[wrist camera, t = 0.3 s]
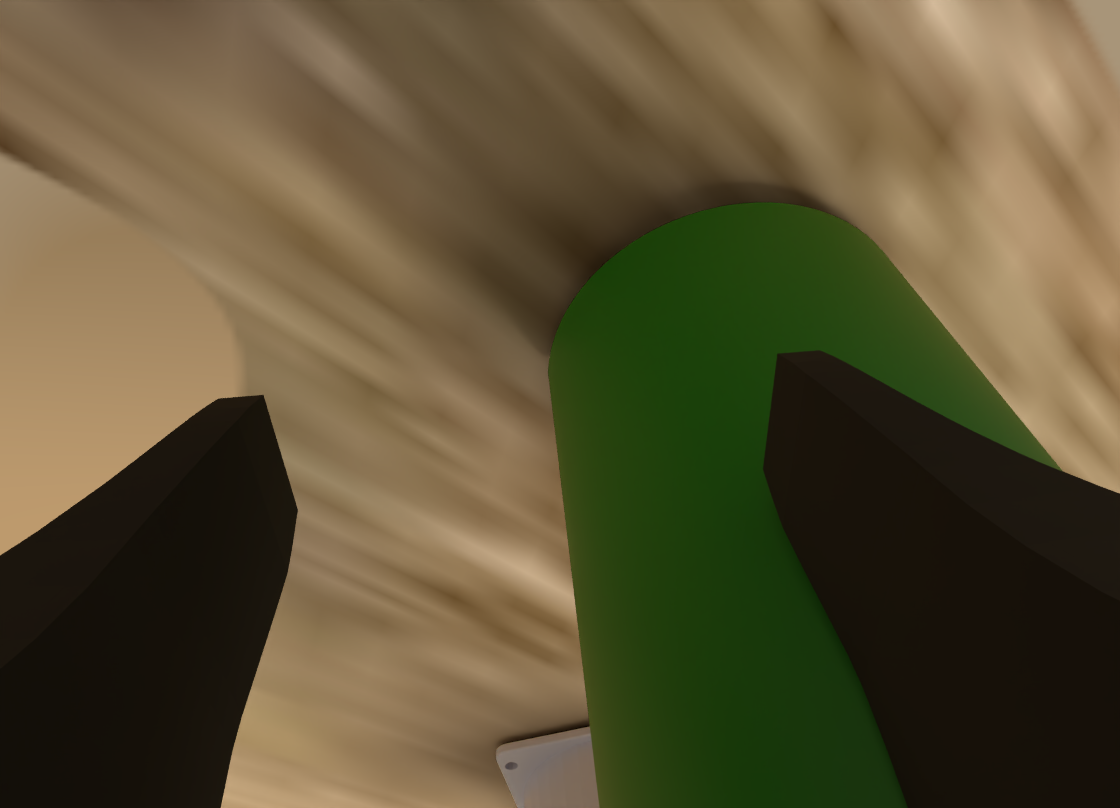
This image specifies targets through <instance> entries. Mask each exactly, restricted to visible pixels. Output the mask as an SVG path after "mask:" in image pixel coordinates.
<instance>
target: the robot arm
mask: <svg viewBox="0 0 1120 808" xmlns="http://www.w3.org/2000/svg"><path fill="white" fill-rule="evenodd" d="M763 471H764V474H765V477H766V480H767V484H768V487H769V490H770V493H771V496H772V499H773V502H774V505H775V508H776V510H777V513H778V516H779V519H780V522H781V524H782V527H783V529H784V531H785V533H786V535H787V537H788V539H789V541H790V543H791V545H792V547H793V549H794V551H795V553H796V555H797V557H798V559H799V561H800V563H801V565H802V567H803V569H804V571H805V573H806V575H807V577H808V579H809V581H810V583H811V585H812V587H813V589H814V591H815V592H816V594H817V596H818V598H819V600H820V602H821V604H822V606H823V608H824V610H825V612H826V614H827V616H828V618H829V620H830V622H831V623H832V625H833V627H834V629H835V631H836V633H837V635H838V637H839V639H840V641H841V643H842V645H843V647H844V649H845V651H846V653H847V654H848V656H849V659H850V661H851V663H852V665H853V667H854V669H855V672H856V674H857V676H858V678H859V680H860V682H861V685H862V687H863V689H864V692H865V695H866V697H867V700H868V702H869V705H870V707H871V710H872V713H873V715H874V718H875V720H876V723H877V726H878V728H879V731H880V733H881V736H882V739H883V741H884V744H885V746H886V749H887V751H888V754H889V757H890V760H891V762H892V765H893V768H894V771H895V774H896V776H897V779H898V782H899V785H900V787H901V790H902V793H903V796H904V799H905V801H906V804H907V807H908V808H1120V494H1119V493H1116V492H1114V491H1111V490H1108V489H1105V488H1103V487H1100V486H1098V485H1095V484H1093V483H1090V482H1088V481H1085V480H1083V479H1080V478H1078V477H1075V476H1073V475H1070V474H1068V473H1065V472H1063V471H1060V470H1058V469H1055V468H1053V467H1050V466H1048V465H1045V464H1043V463H1041V462H1038V461H1036V460H1034V459H1032V458H1029V457H1027V456H1025V455H1022V454H1020V453H1018V452H1016V451H1014V450H1012V449H1010V448H1008V447H1005V446H1003V445H1001V444H999V443H997V442H995V441H993V440H991V439H989V438H987V437H985V436H982V435H980V434H978V433H976V432H974V431H972V430H970V429H968V428H966V427H964V426H962V425H960V424H958V423H956V422H955V421H953V420H951V419H949V418H947V417H945V416H943V415H941V414H939V413H937V412H935V411H934V410H932V409H930V408H928V407H926V406H924V405H922V404H921V403H919V402H917V401H915V400H913V399H911V398H910V397H908V396H906V395H904V394H902V393H901V392H899V391H897V390H895V389H893V388H892V387H890V386H888V385H886V384H884V383H883V382H881V381H879V380H877V379H875V378H874V377H872V376H870V375H868V374H866V373H865V372H863V371H861V370H859V369H857V368H855V367H854V366H852V365H850V364H848V363H846V362H844V361H842V360H840V359H838V358H836V357H834V356H832V355H830V354H828V353H825V352H823V351H821V350H815V351H803V352H790V353H778V354H777V360H776V368H775V376H774V384H773V392H772V400H771V408H770V416H769V424H768V432H767V440H766V448H765V456H764V464H763ZM297 512H298V509H297V506H296V502H295V499H294V496H293V492H292V489H291V486H290V482H289V479H288V476H287V472H286V469H285V466H284V462H283V459H282V456H281V452H280V449H279V446H278V442H277V439H276V435H275V432H274V429H273V425H272V422H271V419H270V415H269V412H268V409H267V405H266V402H265V399H264V395H257V396H245V397H233V398H221V399H217V400H215V401H214V402H212V403H211V404H209V405H208V406H206V407H205V408H203V409H202V410H200V411H199V412H198V413H196V414H195V415H194V416H192V417H191V418H189V419H188V420H187V421H185V422H184V423H183V424H182V425H180V426H179V427H178V428H176V429H175V430H174V431H172V432H171V433H170V434H168V435H167V436H166V437H165V438H163V439H162V440H161V441H159V442H158V443H157V444H156V445H154V446H153V447H152V448H150V449H149V450H148V451H147V452H145V453H144V454H143V455H141V456H140V457H139V458H138V459H136V460H135V461H134V462H132V463H131V464H130V465H128V466H127V467H126V468H125V469H123V470H122V471H121V472H119V473H118V474H117V475H115V476H114V477H113V478H112V479H110V480H109V481H108V482H106V483H105V484H103V485H102V486H101V487H99V488H98V489H96V490H95V491H94V492H92V493H91V494H89V495H88V496H87V497H85V498H84V499H82V500H81V501H80V502H78V503H77V504H75V505H74V506H72V507H71V508H70V509H68V510H67V511H65V512H64V513H63V514H61V515H60V516H58V517H57V518H56V519H54V520H53V521H51V522H50V523H49V524H47V525H46V526H44V527H43V528H41V529H40V530H39V531H38V532H36V533H34V534H33V535H31V536H30V537H28V538H27V539H25V540H24V541H22V542H21V543H19V544H18V545H16V546H14V547H13V548H11V549H10V550H8V551H7V552H5V553H3V554H2V555H0V808H221V803H222V798H223V793H224V789H225V784H226V779H227V774H228V769H229V764H230V760H231V755H232V750H233V747H234V743H235V739H236V736H237V732H238V728H239V725H240V721H241V717H242V714H243V711H244V708H245V705H246V702H247V699H248V696H249V693H250V690H251V686H252V683H253V680H254V677H255V674H256V671H257V668H258V665H259V662H260V659H261V655H262V652H263V649H264V646H265V643H266V640H267V637H268V634H269V631H270V628H271V625H272V621H273V618H274V615H275V612H276V609H277V605H278V602H279V599H280V596H281V593H282V589H283V586H284V583H285V579H286V576H287V573H288V567H289V562H290V556H291V551H292V545H293V539H294V532H295V525H296V519H297ZM496 761H497V763H498V765H499V768H500V770H501V772H502V774H503V777H504V779H505V781H506V783H507V786H508V788H509V790H510V792H511V795H512V797H513V799H514V802H515V804H516V806H517V808H599V800H598V791H597V783H596V774H595V766H594V757H593V749H592V740H591V732H590V726H589V727H584V728H580V729H575V730H570V731H565V732H560V733H555V734H550V735H545V736H540V737H535V738H531V739H526V740H521V741H516V742H511V743H506V744H503V745H501V746H499V747H498V748H497V750H496Z"/></svg>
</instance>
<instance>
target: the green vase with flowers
mask: <svg viewBox="0 0 1120 808" xmlns="http://www.w3.org/2000/svg"><path fill="white" fill-rule="evenodd" d="M815 350H821V351H823V352H825V353H828V354H830V355H832V356H834V357H836V358H838V359H840V360H842V361H844V362H846V363H848V364H850V365H852V366H854V367H855V368H857V369H859V370H861V371H863V372H865V373H866V374H868V375H870V376H872V377H874V378H875V379H877V380H879V381H881V382H883V383H884V384H886V385H888V386H890V387H892V388H893V389H895V390H897V391H899V392H901V393H902V394H904V395H906V396H908V397H910V398H911V399H913V400H915V401H917V402H919V403H921V404H922V405H924V406H926V407H928V408H930V409H932V410H934V411H935V412H937V413H939V414H941V415H943V416H945V417H947V418H949V419H951V420H953V421H955V422H956V423H958V424H960V425H962V426H964V427H966V428H968V429H970V430H972V431H974V432H976V433H978V434H980V435H982V436H985V437H987V438H989V439H991V440H993V441H995V442H997V443H999V444H1001V445H1003V446H1005V447H1008V448H1010V449H1012V450H1014V451H1016V452H1018V453H1020V454H1022V455H1025V456H1027V457H1029V458H1032V459H1034V460H1036V461H1038V462H1041V463H1043V464H1045V465H1048V466H1050V467H1053V468H1055V469H1058V470H1060V471H1062V470H1061V469H1060V467H1059V466H1058V465H1057V464H1056V462H1055V461H1054V460H1053V459H1052V458H1051V456H1050V455H1049V454H1048V453H1047V451H1046V450H1045V449H1044V448H1043V447H1042V445H1041V444H1040V443H1039V442H1038V440H1037V439H1036V438H1035V437H1034V436H1033V434H1032V433H1031V432H1030V431H1029V429H1028V428H1027V427H1026V426H1025V425H1024V423H1023V422H1022V421H1021V420H1020V418H1019V417H1018V416H1017V415H1016V414H1015V412H1014V411H1013V410H1012V409H1011V407H1010V406H1009V405H1008V404H1007V403H1006V401H1005V400H1004V399H1003V398H1002V396H1001V395H1000V394H999V393H998V392H997V390H996V389H995V388H994V387H993V385H992V384H991V383H990V382H989V381H988V379H987V378H986V377H985V376H984V374H983V373H982V372H981V371H980V370H979V368H978V367H977V366H976V365H975V363H974V362H973V361H972V360H971V359H970V357H969V356H968V355H967V354H966V352H965V351H964V350H963V349H962V348H961V346H960V345H959V344H958V343H957V341H956V340H955V339H954V338H953V337H952V335H951V334H950V333H949V332H948V330H947V329H946V328H945V327H944V326H943V324H942V323H941V322H940V321H939V319H938V318H937V317H936V316H935V315H934V313H933V312H932V311H931V310H930V308H929V307H928V306H927V305H926V304H925V302H924V301H923V300H922V299H921V297H920V296H919V295H918V294H917V293H916V291H915V290H914V289H913V288H912V286H911V285H910V284H909V283H908V282H907V280H906V279H905V278H904V277H903V275H902V274H901V273H900V272H899V271H898V269H897V268H896V267H895V266H894V264H893V263H892V262H891V261H890V260H889V258H888V257H887V256H886V255H885V253H884V252H883V251H882V250H881V249H880V248H879V247H878V246H877V244H876V243H875V242H874V241H872V240H871V239H870V238H869V237H868V236H867V235H866V234H864V233H863V232H862V231H860V230H859V229H857V228H856V227H854V226H853V225H851V224H849V223H848V222H846V221H844V220H842V219H840V218H838V217H836V216H833V215H831V214H828V213H825V212H822V211H819V210H816V209H813V208H808V207H804V206H799V205H792V204H786V203H772V202H756V203H741V204H734V205H727V206H721V207H716V208H712V209H708V210H704V211H700V212H697V213H694V214H690V215H687V216H684V217H682V218H679V219H677V220H674V221H672V222H669V223H667V224H665V225H663V226H661V227H658V228H656V229H655V230H653V231H651V232H649V233H647V234H645V235H644V236H642V237H640V238H639V239H637V240H635V241H634V242H632V243H631V244H629V245H628V246H627V247H625V248H624V249H622V250H621V251H620V252H618V253H617V254H616V255H615V256H613V257H612V258H611V259H610V260H608V261H607V262H606V263H605V264H604V265H603V266H602V267H601V268H600V269H599V270H598V271H597V272H596V273H595V274H594V275H593V276H592V277H591V278H590V279H589V280H588V281H587V283H586V284H585V285H584V286H583V287H582V289H581V290H580V291H579V293H578V294H577V295H576V297H575V298H574V300H573V301H572V303H571V304H570V306H569V307H568V309H567V311H566V313H565V315H564V317H563V318H562V320H561V323H560V325H559V327H558V329H557V332H556V335H555V338H554V341H553V344H552V348H551V353H550V358H549V366H548V376H549V384H550V393H551V401H552V410H553V418H554V427H555V435H556V444H557V452H558V461H559V469H560V478H561V486H562V495H563V503H564V512H565V520H566V529H567V537H568V545H569V554H570V562H571V571H572V579H573V588H574V596H575V605H576V613H577V622H578V630H579V639H580V647H581V656H582V664H583V673H584V681H585V690H586V698H587V707H588V715H589V723H590V732H591V740H592V749H593V757H594V766H595V774H596V783H597V791H598V800H599V808H908V807H907V804H906V801H905V799H904V796H903V793H902V790H901V787H900V785H899V782H898V779H897V776H896V774H895V771H894V768H893V765H892V762H891V760H890V757H889V754H888V751H887V749H886V746H885V744H884V741H883V739H882V736H881V733H880V731H879V728H878V726H877V723H876V720H875V718H874V715H873V713H872V710H871V707H870V705H869V702H868V700H867V697H866V695H865V692H864V689H863V687H862V685H861V682H860V680H859V678H858V676H857V674H856V672H855V669H854V667H853V665H852V663H851V661H850V659H849V656H848V654H847V653H846V651H845V649H844V647H843V645H842V643H841V641H840V639H839V637H838V635H837V633H836V631H835V629H834V627H833V625H832V623H831V622H830V620H829V618H828V616H827V614H826V612H825V610H824V608H823V606H822V604H821V602H820V600H819V598H818V596H817V594H816V592H815V591H814V589H813V587H812V585H811V583H810V581H809V579H808V577H807V575H806V573H805V571H804V569H803V567H802V565H801V563H800V561H799V559H798V557H797V555H796V553H795V551H794V549H793V547H792V545H791V543H790V541H789V539H788V537H787V535H786V533H785V531H784V529H783V527H782V524H781V522H780V519H779V516H778V513H777V510H776V508H775V505H774V502H773V499H772V496H771V493H770V490H769V487H768V484H767V480H766V477H765V474H764V471H763V464H764V456H765V448H766V440H767V432H768V424H769V416H770V408H771V400H772V392H773V384H774V376H775V368H776V360H777V354H778V353H790V352H803V351H815Z"/></svg>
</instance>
